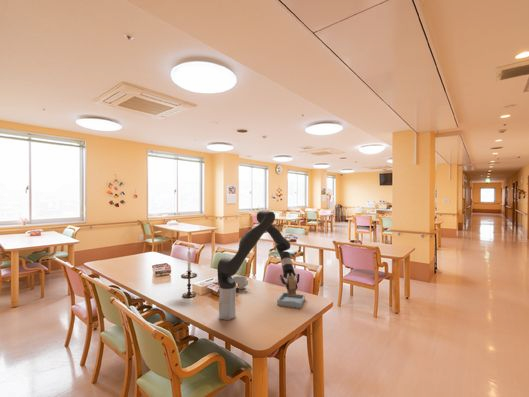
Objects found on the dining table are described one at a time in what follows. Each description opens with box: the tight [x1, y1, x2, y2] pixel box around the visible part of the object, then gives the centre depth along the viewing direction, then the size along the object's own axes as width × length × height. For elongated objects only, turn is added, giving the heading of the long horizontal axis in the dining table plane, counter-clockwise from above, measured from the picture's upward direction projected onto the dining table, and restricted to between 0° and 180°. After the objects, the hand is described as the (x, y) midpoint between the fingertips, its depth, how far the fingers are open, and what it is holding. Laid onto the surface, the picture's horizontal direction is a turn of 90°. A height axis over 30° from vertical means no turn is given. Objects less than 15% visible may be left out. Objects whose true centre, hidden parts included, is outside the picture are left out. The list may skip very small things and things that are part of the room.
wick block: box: [286, 276, 297, 297], centre depth 173 cm, size 4×4×13 cm
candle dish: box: [276, 291, 306, 309], centre depth 173 cm, size 15×15×3 cm
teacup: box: [232, 275, 249, 290], centre depth 198 cm, size 14×11×8 cm
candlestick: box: [180, 246, 198, 299], centre depth 184 cm, size 11×11×35 cm
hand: (292, 289), depth 171 cm, fingers closed on wick block, 4 cm apart
